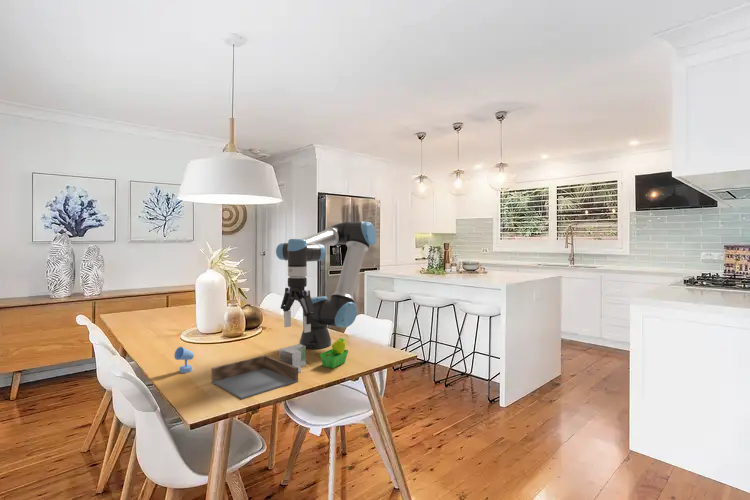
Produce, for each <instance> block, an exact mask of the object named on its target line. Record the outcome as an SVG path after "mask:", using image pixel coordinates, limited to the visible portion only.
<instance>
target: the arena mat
mask: <svg viewBox="0 0 750 500" xmlns="http://www.w3.org/2000/svg"><path fill="white" fill-rule="evenodd" d="M298 382H299V379H298V380H297V381H295V380H292V379H290V378H288V377H285V376H283V375H281V374H278V373H276V372H274V371H271V370H269V369H266V368H262V369H258V370H254V371H250V372H247V373H243V374H239V375H235V376H232V377H228V378H224V379H220V380H217V381H212V380H211V383H213V385H216V386H217V387H220V388H221V389H223V390H225V391H226V392H228V393H230V394H231V395H233V396H235V397H237V398H239V399H240V400H245V399H248V398H250V397H251V398H252V397H254V396H257V395H260V394H263V393H266V392H270V391H273V390H276V389H280V388H282V387H286V386H288V385H291V384H295V383H298Z"/></svg>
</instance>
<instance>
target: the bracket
mask: <svg viewBox="0 0 750 500" xmlns="http://www.w3.org/2000/svg"><path fill="white" fill-rule="evenodd" d="M306 349H307V348H306V346H304V345H301V344H300V343H299V344H294V345H289V346H285V347H281V348H279V349H278V355H279V356H278V360H279V361H282V362H285V363H287V364H290V365H292V366H295V367H298V374H299V373H302V367H305V366H306V365H307V358H306V357H307V352H306V351H307V350H306Z"/></svg>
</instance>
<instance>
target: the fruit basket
mask: <svg viewBox="0 0 750 500" xmlns="http://www.w3.org/2000/svg"><path fill="white" fill-rule="evenodd" d="M348 353H349V350H348V349H346V340H345V338H344V337H340V338H338V340H336V341H334V342H333V343H331V349H329V350H326V351H324V352H322V353H320V354H319V357H320V360H321V364H322V366H323V367H324V368H328V369H330V368H331V369H335V368H337V367H339V366H341V365H342V364H345V363H346V361H347V357H348Z"/></svg>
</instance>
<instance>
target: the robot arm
mask: <svg viewBox="0 0 750 500" xmlns="http://www.w3.org/2000/svg"><path fill="white" fill-rule="evenodd" d="M376 231H377V230H376V228H375V225H373V223H372V222H371V221H370V222H369V221H364V220H363V221H343V222H339V223H337V224H333V225H331V226H328V227H326V228H325V229H324V230H323V231H320V232H317V233H315V234H311V235H308V236H306V237H303V238H289V239H288V240H287V242H282V243H279V244H278V245H277V246H276V249H275V253H276V257H277V258H278V259H279V260H281V261H287V277H288V278H287V287H285V288H284V294H283V297H282V301H281V304H280V310H282V311H283V318H284V319H283V320H284V323H283V324H284V326H283V327H284V328H289V327H291V326H292V311H291V308H292V306H293V305H294V303H295V301H297V302H298V303H299V304H300V306H301V308H302V323H303V324H302V326H303V329H302V333H301V336H300V338H299V344H301V345H304V346H306V349H310V350H311V349H312V350H314V349H324V348H328V347H329V346H332V337H331V336H330V332H329V329H328V326H331V327H337V328H348V327H350V326H351V325H352V324H354V323H355V320H356V319H357V317H358V316H357V315H358V306H357V305H356V300H355V299H354V294H355V290H356V286H357V283H358V279H359V275H360V271H361V267H362V264H363V260H364V256H365V253H366V252H368V251H369V249H370V246H373V245H374V244H375V243H376V241H377V232H376ZM337 245H345V246H346V247H347V250H346V254H345V257H344V260H343V264H342V268H341V270H340V275H339V278H338V282H337V286H336V288H335V291H334V293H332V294H331V295H330V298H329V299H328V296H325V295H323V296H315V297H314V296H313V297H312V296H311V291H310V290H309V289H307V290H306V289H305V288H306V287H307V285H308V284H307V282H308V281H307V275H308V269H307V268H308V263H307V262H319V261H322V260H324V259H325V258H326V255H327V248H326V247H328V246H332V247H333V246H337Z"/></svg>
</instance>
